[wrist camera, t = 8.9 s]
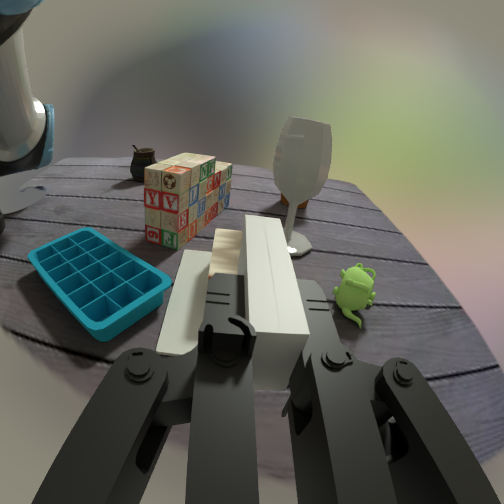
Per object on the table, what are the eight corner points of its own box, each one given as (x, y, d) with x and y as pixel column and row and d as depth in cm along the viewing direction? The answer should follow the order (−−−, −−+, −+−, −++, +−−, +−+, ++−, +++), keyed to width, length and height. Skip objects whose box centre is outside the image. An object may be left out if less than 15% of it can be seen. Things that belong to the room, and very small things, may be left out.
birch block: (208, 276, 29) (215, 228, 39) (206, 312, 32) (213, 259, 41) (257, 280, 30) (252, 232, 39) (250, 315, 32) (248, 263, 42)
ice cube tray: (90, 242, 41) (88, 225, 40) (177, 300, 33) (177, 280, 32) (30, 271, 32) (25, 253, 31) (101, 354, 24) (94, 334, 23)
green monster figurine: (360, 330, 33) (377, 293, 30) (322, 311, 35) (336, 274, 32) (372, 305, 38) (387, 271, 35) (338, 289, 40) (351, 255, 37)
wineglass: (320, 253, 48) (350, 129, 38) (278, 262, 44) (305, 121, 33) (290, 230, 54) (312, 119, 44) (250, 235, 50) (268, 112, 40)
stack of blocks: (202, 200, 62) (207, 144, 56) (229, 206, 61) (235, 149, 55) (144, 241, 44) (143, 166, 38) (178, 251, 43) (180, 172, 37)
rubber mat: (156, 353, 26) (155, 351, 26) (184, 251, 43) (184, 249, 43) (296, 364, 27) (297, 362, 27) (277, 260, 44) (277, 258, 44)
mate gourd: (162, 177, 73) (164, 141, 67) (146, 185, 66) (147, 146, 61) (141, 173, 74) (141, 138, 69) (124, 181, 68) (124, 143, 62)
